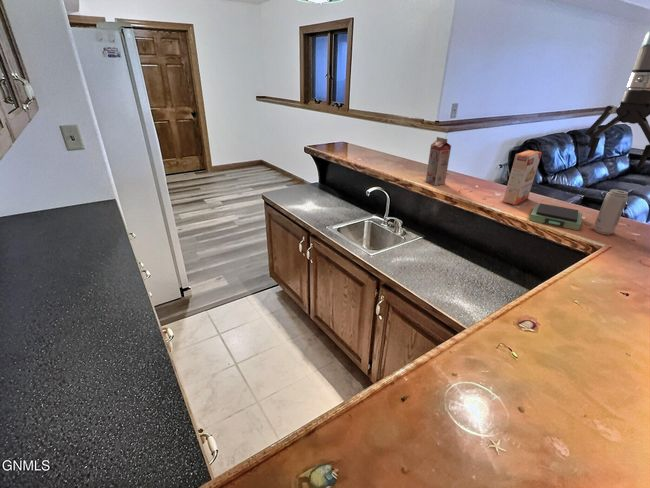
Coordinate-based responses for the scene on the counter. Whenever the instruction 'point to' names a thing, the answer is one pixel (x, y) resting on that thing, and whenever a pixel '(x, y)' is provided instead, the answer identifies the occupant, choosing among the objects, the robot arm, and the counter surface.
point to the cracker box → (521, 176)
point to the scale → (556, 220)
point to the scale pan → (557, 212)
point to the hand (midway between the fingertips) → (613, 162)
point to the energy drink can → (611, 211)
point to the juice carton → (438, 162)
